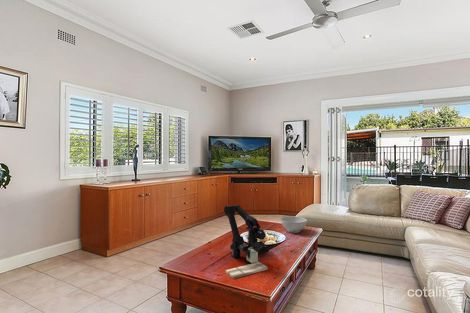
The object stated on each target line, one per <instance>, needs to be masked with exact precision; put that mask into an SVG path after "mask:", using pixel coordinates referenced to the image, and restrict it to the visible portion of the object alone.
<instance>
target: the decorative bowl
mask: <svg viewBox="0 0 470 313" xmlns="http://www.w3.org/2000/svg"><path fill="white" fill-rule="evenodd" d="M280 222H281V223H280V224H281V225H282V226H283V228H284V229H286V230H287V232H288V233H294V234H296V233H300V232H301V231H302V230H303V229H304V228H305V227H306V225H307V222H308V219H306V218H304V217H302V216H295V215H293V216H291V215H290V216H289V215H287V216H283V217H280Z"/></svg>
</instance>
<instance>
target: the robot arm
mask: <svg viewBox="0 0 470 313" xmlns="http://www.w3.org/2000/svg"><path fill="white" fill-rule="evenodd" d="M223 211H224V214H225V216H226V217H227V218H228V221H229V225H230V229H231V233H232V240H231V241H232V243H231V244H230V245H229V247H230V250H232V254H230V257H233V259H239V258H242V257H243V256H242V255H241V252H245V253H246V257H247V256H248V259H250V251H251V250H250V249H253V250H255V251H257V252H258V253H259V250H261V249H262V248H265V247H266V246H265V244H264V243H265V242H263V241H264V240H265V239H266V235H267V234H266V231H265V229H262V228H261V226H260V224H259V222H258V219H257V218H255V217H254V216H251V215H249V214H248V213H247V211H246V210H244V209H243V208H242V207H241V205H240V204H236V205H235V204H234V205H225V206H224V208H223ZM236 213H237V215H239V216H240V217H241V218H242V219H243V221H244V223H245V225H246V226H247V227H245V229H246V230H248V231H247V232H248V234H247V236H248V237H247V236H246V237H247V238H246V239H247V241H248V242H247V243H246V244H247V245H246V244H245V240H244V236H243V235H240V232H239V229H238V228H239V227H238V224H237V221H236V217H235V215H236ZM258 240H260V241H258Z"/></svg>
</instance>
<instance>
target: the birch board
mask: <svg viewBox="0 0 470 313" xmlns="http://www.w3.org/2000/svg"><path fill="white" fill-rule="evenodd" d="M268 269H269V268H268V266H267V265H265V264H263V263H261V262H260V261H258V262H255V263H250V264H245V265H242V266H237V267H233V268H229V269H225V274H227V275H228V276H229V277H230V278H232V279H234V280H235V279H237V278H241V277H245V276H248V275H253V274H256V273H259V272H263V271H267V270H268Z"/></svg>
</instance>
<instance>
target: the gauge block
mask: <svg viewBox="0 0 470 313" xmlns="http://www.w3.org/2000/svg"><path fill="white" fill-rule="evenodd" d="M250 250H251V251H250V259H248V256H247V255H246V261H247V262H249V263H250V264H253V263H257V262H259V256H258V254H259V251H258V252H257V251H255V250H254V248H250Z"/></svg>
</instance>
